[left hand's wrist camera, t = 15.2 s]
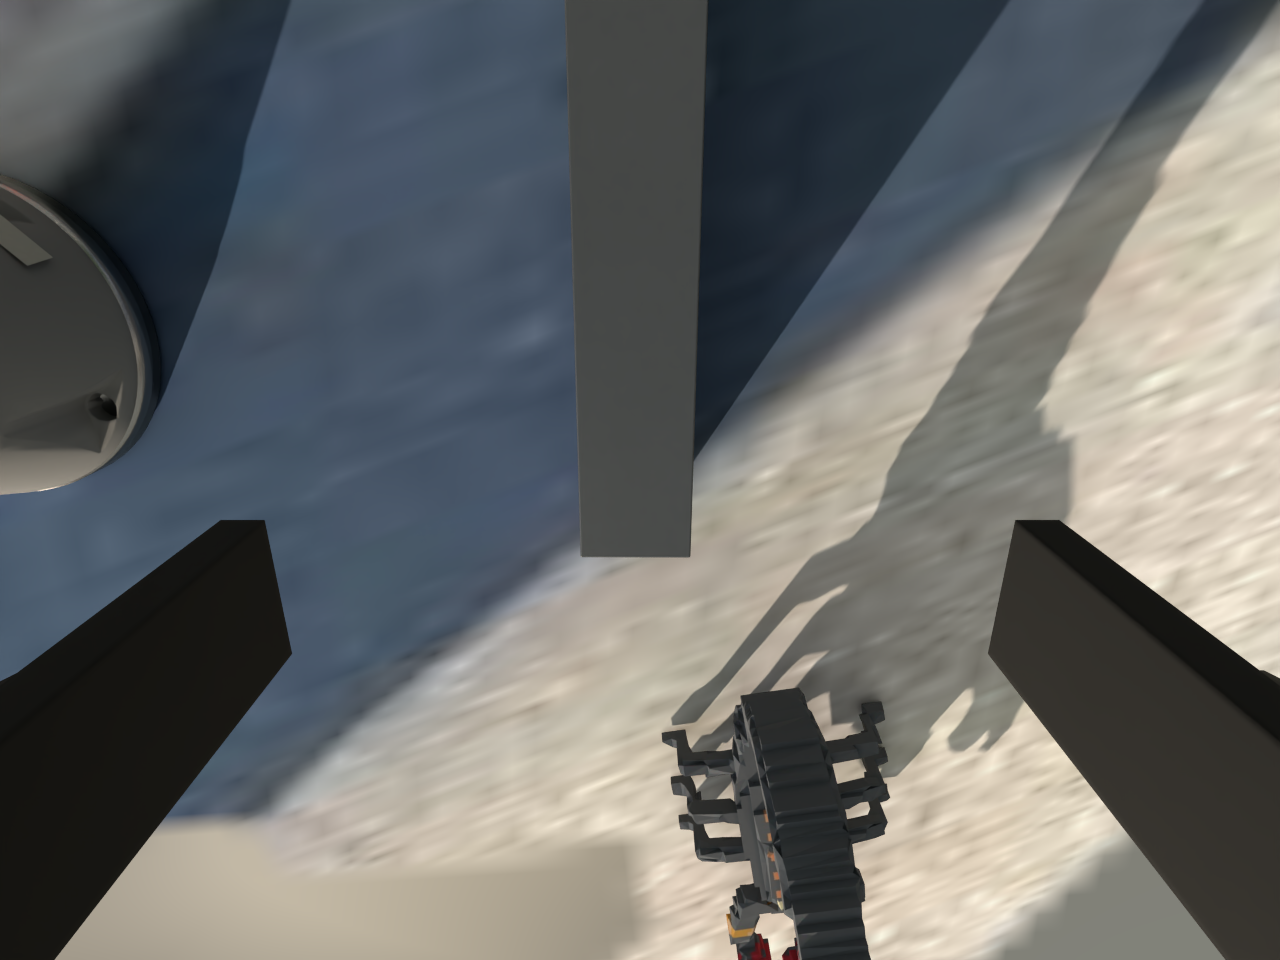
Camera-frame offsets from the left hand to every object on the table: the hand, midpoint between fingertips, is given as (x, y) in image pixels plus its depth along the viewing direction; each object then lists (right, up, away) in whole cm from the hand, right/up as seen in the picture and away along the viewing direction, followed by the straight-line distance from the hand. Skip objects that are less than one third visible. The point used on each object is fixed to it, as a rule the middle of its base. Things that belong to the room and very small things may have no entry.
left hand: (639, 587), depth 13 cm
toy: (+8, -17, +33) cm, 38 cm away
